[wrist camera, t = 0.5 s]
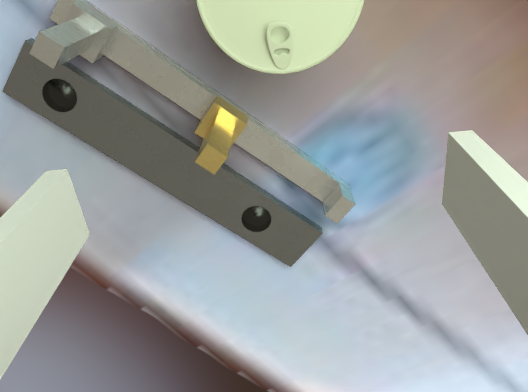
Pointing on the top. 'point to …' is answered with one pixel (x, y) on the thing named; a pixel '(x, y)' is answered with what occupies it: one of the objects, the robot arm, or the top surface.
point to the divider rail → (180, 93)
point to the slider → (218, 133)
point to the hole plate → (158, 155)
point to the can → (279, 30)
